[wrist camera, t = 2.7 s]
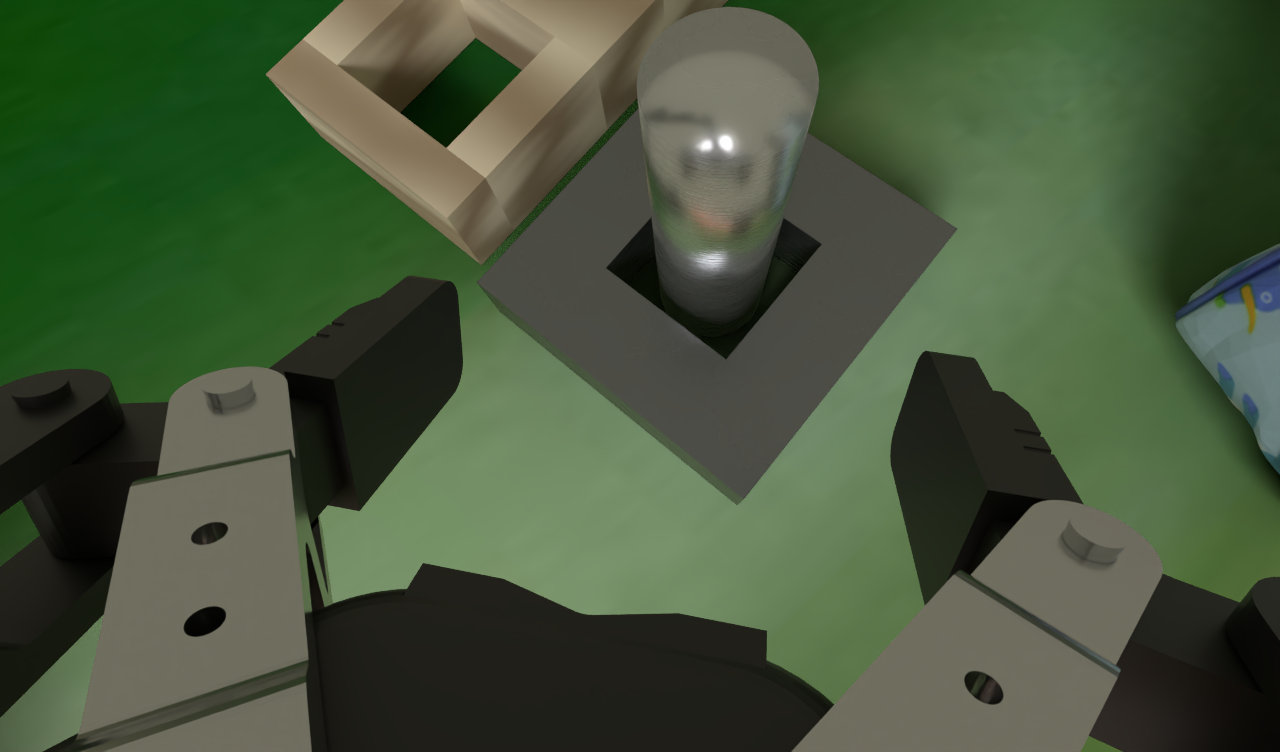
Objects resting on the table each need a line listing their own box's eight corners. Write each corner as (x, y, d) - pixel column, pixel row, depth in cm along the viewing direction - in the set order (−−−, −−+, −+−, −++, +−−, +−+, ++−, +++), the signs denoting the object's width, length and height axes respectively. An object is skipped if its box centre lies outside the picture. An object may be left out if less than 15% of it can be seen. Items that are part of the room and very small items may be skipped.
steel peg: (639, 296, 26) (600, 97, 15) (702, 224, 27) (711, -22, 15) (718, 356, 25) (742, 195, 14) (781, 281, 26) (856, 65, 14)
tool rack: (481, 265, 27) (447, 218, 23) (321, 136, 29) (265, 74, 25) (777, -53, 30) (790, -142, 26) (612, -148, 32) (602, -243, 28)
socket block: (500, 311, 26) (476, 282, 24) (687, 105, 28) (687, 55, 25) (737, 505, 24) (743, 499, 21) (927, 264, 26) (957, 228, 23)
